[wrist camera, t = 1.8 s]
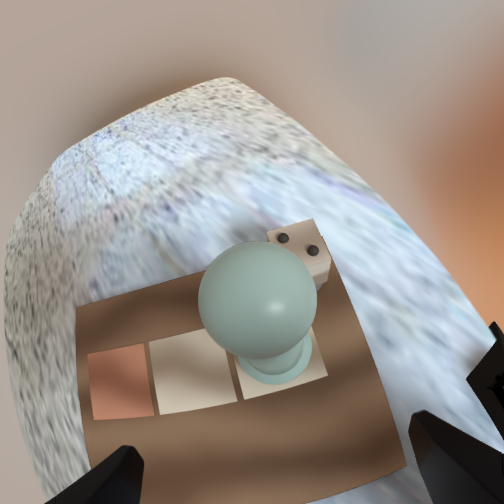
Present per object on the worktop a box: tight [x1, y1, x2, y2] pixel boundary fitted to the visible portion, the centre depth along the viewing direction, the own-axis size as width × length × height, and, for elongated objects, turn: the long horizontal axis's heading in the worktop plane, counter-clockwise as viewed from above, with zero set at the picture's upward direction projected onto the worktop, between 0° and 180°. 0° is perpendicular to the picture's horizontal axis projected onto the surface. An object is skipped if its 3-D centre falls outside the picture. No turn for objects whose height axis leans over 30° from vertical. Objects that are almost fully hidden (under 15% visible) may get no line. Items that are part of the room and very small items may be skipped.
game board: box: [76, 219, 407, 504], centre depth 17 cm, size 20×24×5 cm
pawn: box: [198, 241, 317, 385], centre depth 15 cm, size 5×5×12 cm
